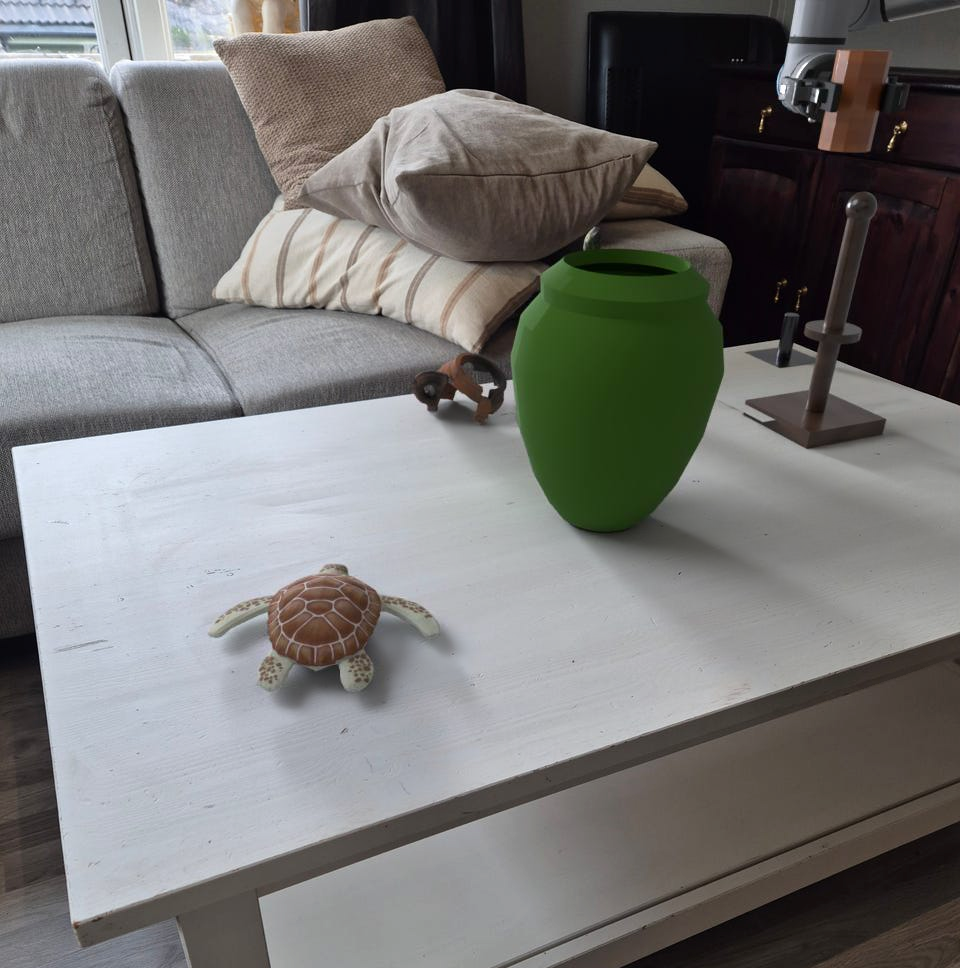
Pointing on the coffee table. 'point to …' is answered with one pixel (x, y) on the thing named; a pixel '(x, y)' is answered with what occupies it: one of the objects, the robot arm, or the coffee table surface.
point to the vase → (615, 381)
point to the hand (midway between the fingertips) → (866, 99)
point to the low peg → (785, 347)
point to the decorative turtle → (323, 626)
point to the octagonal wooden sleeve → (855, 100)
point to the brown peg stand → (828, 356)
